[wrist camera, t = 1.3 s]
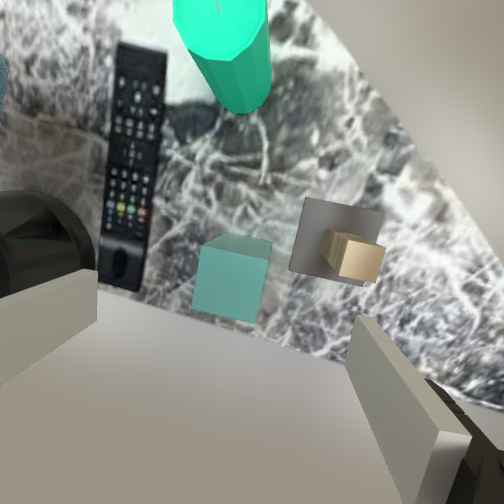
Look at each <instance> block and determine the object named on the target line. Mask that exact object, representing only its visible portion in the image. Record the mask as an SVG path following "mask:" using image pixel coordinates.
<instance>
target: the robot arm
mask: <svg viewBox="0 0 504 504" xmlns="http://www.w3.org/2000/svg"><path fill="white" fill-rule="evenodd" d="M7 81H8V69H7V65H6V62H5V60H4V58H3V56H2V54H1V52H0V112H1V108H2V103H3V99H4V94H5V90H6V85H7ZM1 126H2V125H1V122H0V129H1ZM94 269H95V258H94V251H93V247H92V243H91V240H90V237H89V235H88V233H87V231H86V229H85V227H84V226H83V224H82V223H81V221H80V220H79V219H78V217H77V216H76V215H75V214H74V213H73V212H72V211H71V210H70V209H69V208H68V207H67V206H65V205H64V204H63V203H61V202H60V201H58V200H56V199H54V198H52V197H50V196H48V195H45V194H42V193H37V192H28V191H3V192H0V385H2V384H3V383H5V382H6V381H8V380H9V379H10V378H12V377H14V376H15V375H17V374H18V373H20V372H21V371H23V370H24V369H26V368H27V367H28V366H30V365H31V364H33V363H34V362H36V361H37V360H39V359H40V358H42V357H43V356H45V355H46V354H48V353H49V352H51V351H52V350H54V349H55V348H57V347H58V346H60V345H61V344H63V343H64V342H66V341H67V340H69V339H70V338H71V337H73V336H74V335H76V334H77V333H79V332H80V331H82V330H83V329H85V328H86V327H88V326H89V325H91V324H92V323H94V322H95V321H96V319H97V318H96V317H97V283H98V271H94ZM344 365H345V368H346V370H347V372H348V375H349V377H350V379H351V382H352V384H353V386H354V389H355V391H356V394H357V396H358V398H359V401H360V403H361V405H362V407H363V410H364V412H365V415H366V417H367V419H368V421H369V424H370V426H371V429H372V431H373V434H374V436H375V438H376V440H377V443H378V445H379V448H380V450H381V452H382V455H383V457H384V459H385V462H386V464H387V466H388V469H389V471H390V474H391V476H392V478H393V481H394V483H395V485H396V488H397V490H398V492H399V495H400V497H401V499H402V502H403V504H504V451H502V450H498V449H497V448H496V447H495V446H494V445H493V444H492V442H491V441H490V440H489V439H488V438H487V437H486V436H485V435H484V433H483V432H482V431H481V430H480V429H479V428H478V427H477V426H476V425H475V424H474V422H473V421H472V420H471V419H470V418H469V417H468V416H467V415H465V413H464V411H463V410H462V409H461V408H460V407H459V406H458V405H457V404H456V402H455V401H454V400H453V399H452V398H451V397H450V396H449V394H448V393H447V392H446V391H445V390H444V389H442V388H441V387H440V386H438V385H437V384H436V383H434V382H433V381H432V380H430V379H425V378H423V377H422V376H421V375H420V373H419V372H418V371H417V370H416V369H415V367H414V366H413V365H412V364H411V363H410V362H409V360H408V359H407V358H406V357H405V356H404V354H403V353H402V352H401V351H400V350H399V348H398V347H397V346H396V345H395V344H394V342H393V341H392V340H391V339H390V338H389V336H388V335H387V334H386V333H385V332H384V331H383V329H382V328H381V327H380V326H379V325H378V323H377V322H376V321H375V320H374V319H373V317H368V316H362V315H356V318H355V322H354V327H353V331H352V335H351V339H350V343H349V347H348V352H347V356H346V360H345V364H344Z"/></svg>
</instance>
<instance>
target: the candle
mask: <svg viewBox="0 0 504 504" xmlns="http://www.w3.org/2000/svg"><path fill="white" fill-rule="evenodd" d="M173 22H174V24H175V26H176V28H177V30H178V32H179V34H180V36H181V38H182V40H183V42H184V44H185V45H186V47H187V49H188V51H189V53H190V54H191V56H192V58H193V59H194V61H195V63H196V64H197V66H198V68H199V69H200V71H201V73H202V74H203V76H204V78H205V79H206V81H207V83H208V84H209V86H210V88H211V89H212V91H213V93H214V94H215V96H216V98H217V99H218V101H219V103H220V104H221V105H222V106H223V107H225V108H226V109H228V110H229V111H231V112H232V113H250V112H252V111H253V110H255V109H257V108H258V107H260V106H262V105H263V103H264V101H265V100H266V98H267V96H268V94H269V93H270V91H271V59H270V43H269V28H268V13H267V0H173Z"/></svg>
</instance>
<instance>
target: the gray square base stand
mask: <svg viewBox="0 0 504 504" xmlns="http://www.w3.org/2000/svg"><path fill="white" fill-rule="evenodd" d="M383 217H384V213H383V212H378V211H373V210H368V209H364V208H359V207H354V206H349V205H344V204H339V203H334V202H329V201H324V200H319V199H314V198H309V197H306V198H305V203H304V207H303V211H302V215H301V220H300V224H299V228H298V232H297V237H296V241H295V245H294V249H293V254H292V258H291V262H290V266H289V271H293V272H297V273H302V274H306V275H311V276H315V277H320V278H325V279H329V280H334V281H338V282H343V283H347V284H352V285H356V286H361V287H363V284H364V281H366V282H371V283H376V280H377V276H378V273H379V270H380V267H381V263H382V260H383V257H384V253H385V250H386V248H385V247H382V246H380V245H378V244H376V240H377V237H378V234H379V230H380V227H381V224H382V220H383Z"/></svg>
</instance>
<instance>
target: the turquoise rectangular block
mask: <svg viewBox="0 0 504 504" xmlns="http://www.w3.org/2000/svg"><path fill="white" fill-rule="evenodd" d="M271 247H272V242H270V241H265V240H260V239H256V238H251V237H246V236H242V235H237V234H232V233H228V232H226V233H224V234H222V235H221V236H219V237H217V238H215V239H213V240H211V241H209V242H207V243H205V244H204V245H202V246H201V252H200V258H199V264H198V270H197V276H196V282H195V288H194V294H193V300H192V306H191V309H194V310H198V311H202V312H207V313H211V314H215V315H219V316H224V317H228V318H232V319H236V320H241V321H245V322H249V323H253V324H255V322H256V317H257V312H258V308H259V303H260V299H261V294H262V289H263V285H264V280H265V276H266V271H267V267H268V262H269V257H270V252H271Z"/></svg>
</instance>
